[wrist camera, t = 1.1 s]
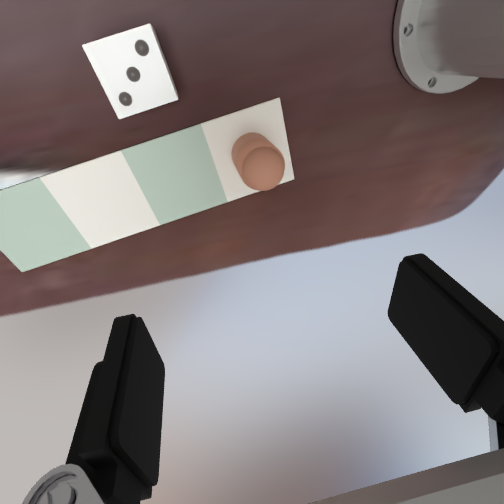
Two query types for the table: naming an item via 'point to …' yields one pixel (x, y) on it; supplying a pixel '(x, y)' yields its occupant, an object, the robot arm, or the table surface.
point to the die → (132, 70)
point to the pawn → (258, 161)
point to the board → (133, 188)
